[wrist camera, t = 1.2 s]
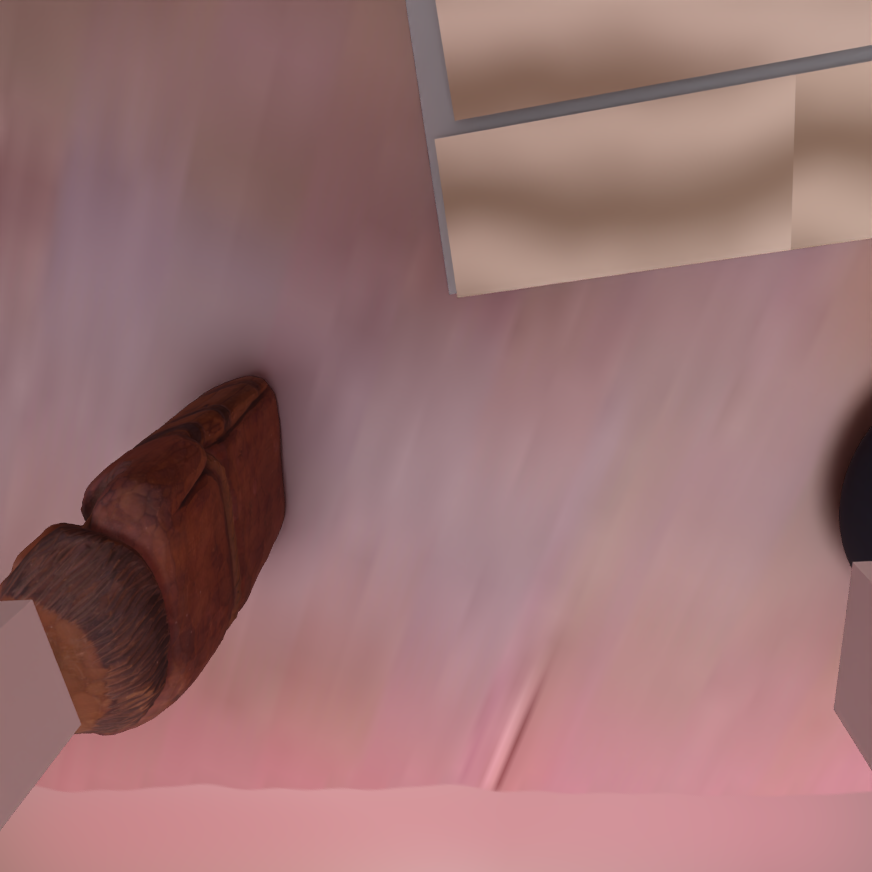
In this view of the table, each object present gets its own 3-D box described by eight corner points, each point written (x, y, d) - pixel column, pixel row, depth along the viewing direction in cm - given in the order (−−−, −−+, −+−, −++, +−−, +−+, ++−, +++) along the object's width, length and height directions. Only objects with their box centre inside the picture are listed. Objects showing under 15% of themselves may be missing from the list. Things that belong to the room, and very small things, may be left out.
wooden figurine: (174, 362, 36) (-108, 522, 19) (289, 370, 36) (101, 540, 19) (194, 550, 40) (-23, 813, 24) (296, 559, 40) (149, 833, 23)
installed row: (437, 140, 30) (434, 138, 29) (1183, 7, 26) (1219, -2, 25) (459, 293, 33) (457, 297, 32) (1145, 193, 29) (1175, 194, 27)
